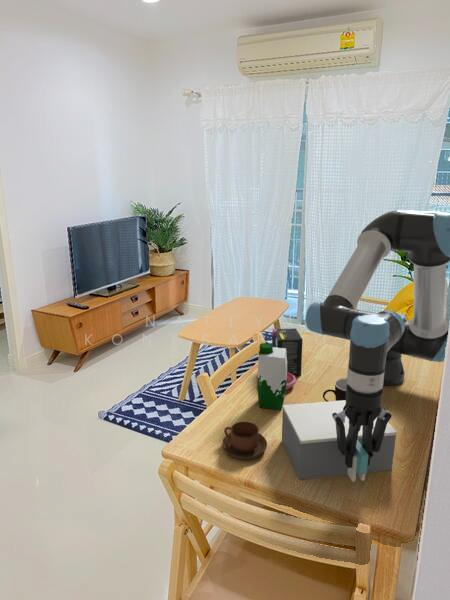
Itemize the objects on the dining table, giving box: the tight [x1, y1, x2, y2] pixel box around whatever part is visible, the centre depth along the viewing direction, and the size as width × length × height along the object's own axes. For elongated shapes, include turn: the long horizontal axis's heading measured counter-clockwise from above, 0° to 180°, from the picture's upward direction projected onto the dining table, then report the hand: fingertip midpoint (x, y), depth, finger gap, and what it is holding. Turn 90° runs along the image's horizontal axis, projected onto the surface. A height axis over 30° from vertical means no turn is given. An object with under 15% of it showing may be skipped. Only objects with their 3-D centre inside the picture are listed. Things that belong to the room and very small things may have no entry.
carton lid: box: [282, 400, 398, 475], centre depth 109 cm, size 24×25×5 cm
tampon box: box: [271, 328, 303, 377], centre depth 162 cm, size 11×9×15 cm
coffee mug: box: [322, 377, 347, 402], centre depth 134 cm, size 12×9×10 cm
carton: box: [281, 408, 397, 481], centre depth 114 cm, size 24×16×10 cm, turn 98°
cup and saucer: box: [221, 421, 268, 460], centre depth 118 cm, size 12×12×6 cm
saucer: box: [286, 372, 296, 391], centre depth 153 cm, size 12×12×3 cm
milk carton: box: [257, 342, 287, 411], centre depth 138 cm, size 9×9×20 cm
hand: (355, 477), depth 102 cm, fingers closed on carton lid, 2 cm apart
